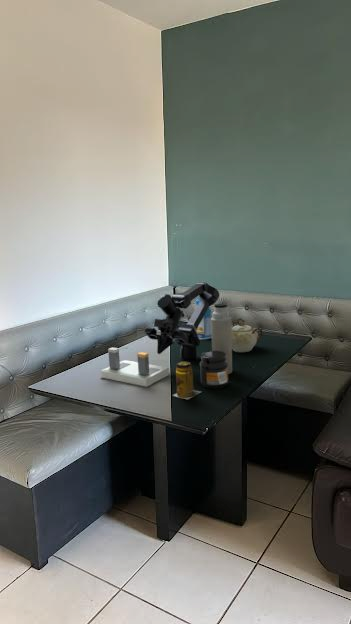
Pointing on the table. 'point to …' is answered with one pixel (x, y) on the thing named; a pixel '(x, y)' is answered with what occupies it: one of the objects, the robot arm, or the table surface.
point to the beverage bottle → (204, 325)
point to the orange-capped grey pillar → (143, 363)
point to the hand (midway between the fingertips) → (158, 353)
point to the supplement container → (214, 369)
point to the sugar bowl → (244, 337)
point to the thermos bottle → (222, 332)
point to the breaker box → (135, 373)
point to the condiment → (185, 381)
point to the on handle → (114, 358)
